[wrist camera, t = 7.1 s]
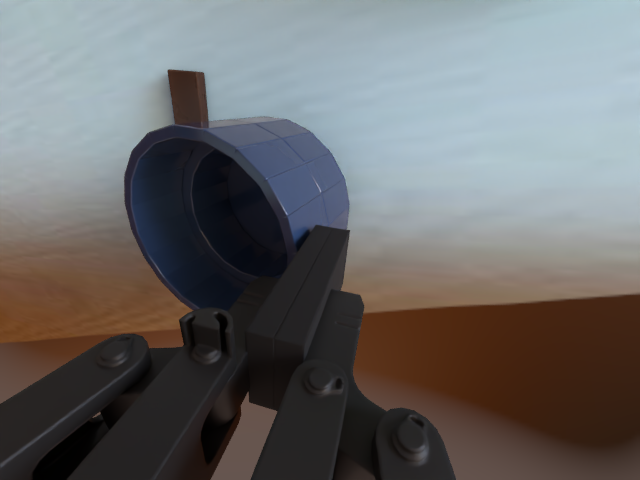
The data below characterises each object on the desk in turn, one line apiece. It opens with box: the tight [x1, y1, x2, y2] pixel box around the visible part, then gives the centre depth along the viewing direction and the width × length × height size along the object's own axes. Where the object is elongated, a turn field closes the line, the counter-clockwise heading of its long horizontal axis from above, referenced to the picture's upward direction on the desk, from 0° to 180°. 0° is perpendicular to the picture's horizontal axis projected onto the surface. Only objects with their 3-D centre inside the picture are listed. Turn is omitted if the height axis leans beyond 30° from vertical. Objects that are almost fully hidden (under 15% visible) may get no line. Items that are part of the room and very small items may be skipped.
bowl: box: [124, 116, 350, 311], centre depth 16 cm, size 10×10×7 cm
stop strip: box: [168, 70, 208, 124], centre depth 21 cm, size 2×14×1 cm, turn 176°
